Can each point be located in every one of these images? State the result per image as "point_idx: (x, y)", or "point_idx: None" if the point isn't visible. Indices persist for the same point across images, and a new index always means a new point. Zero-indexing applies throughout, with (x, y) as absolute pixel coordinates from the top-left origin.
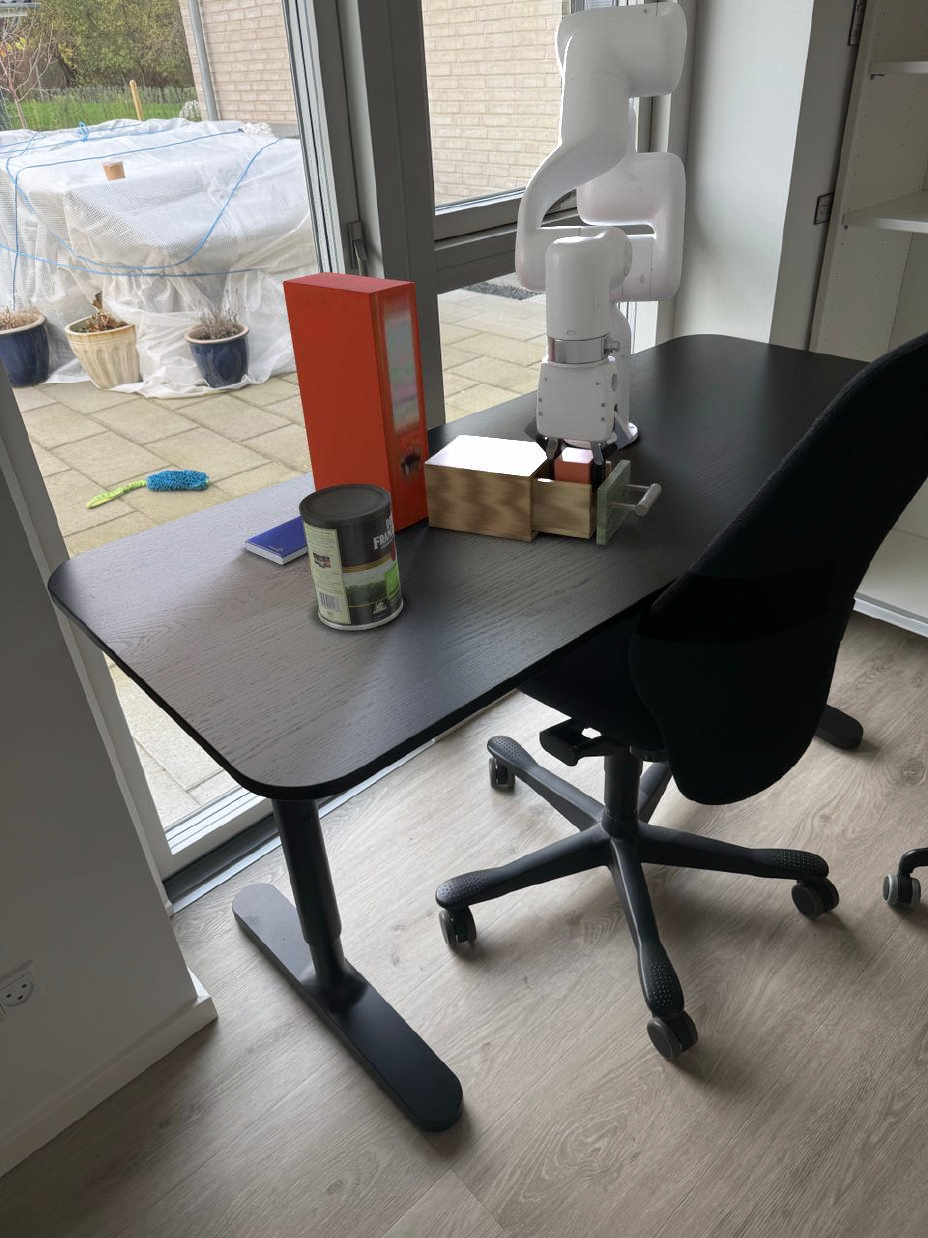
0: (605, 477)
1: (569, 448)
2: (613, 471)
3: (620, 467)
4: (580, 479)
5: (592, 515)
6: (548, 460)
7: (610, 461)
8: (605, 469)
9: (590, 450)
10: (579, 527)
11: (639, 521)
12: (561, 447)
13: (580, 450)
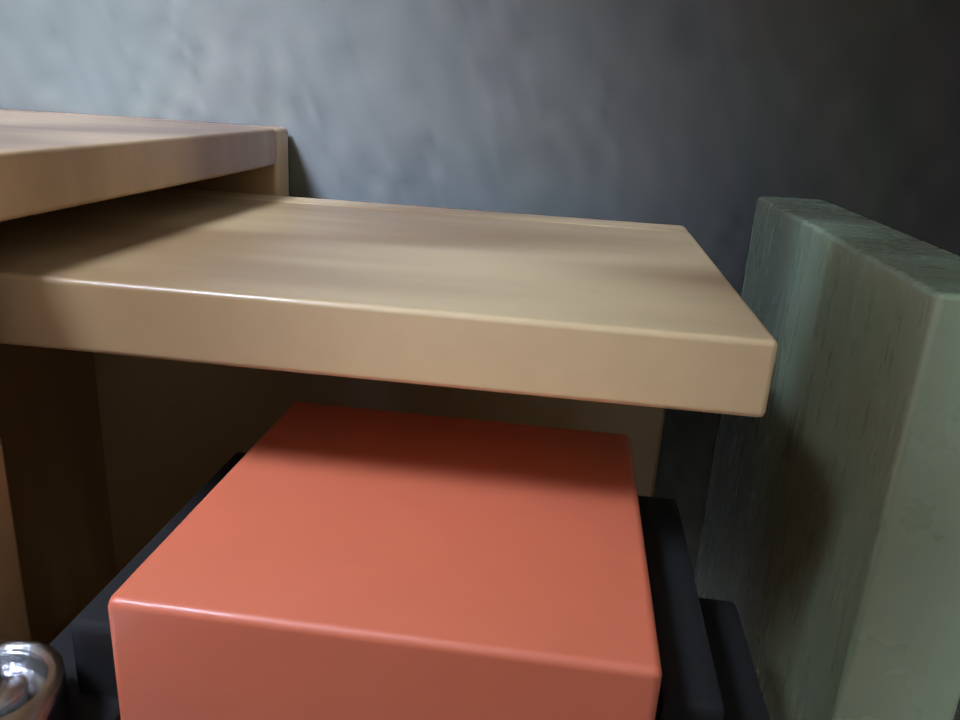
0: (736, 615)
1: (162, 635)
2: (859, 691)
3: (940, 566)
4: None
5: (590, 427)
6: (14, 573)
7: (761, 347)
8: (756, 693)
9: (506, 672)
10: None
11: (899, 215)
12: (51, 710)
13: (353, 692)
